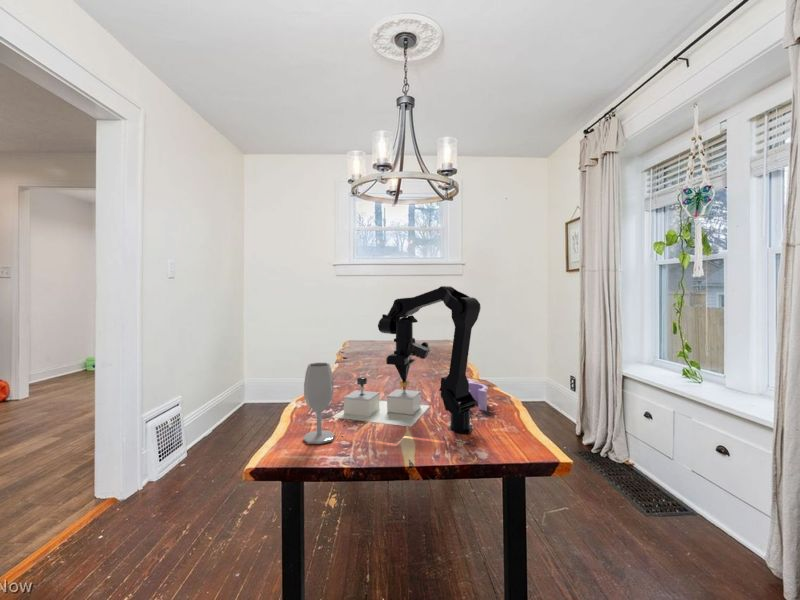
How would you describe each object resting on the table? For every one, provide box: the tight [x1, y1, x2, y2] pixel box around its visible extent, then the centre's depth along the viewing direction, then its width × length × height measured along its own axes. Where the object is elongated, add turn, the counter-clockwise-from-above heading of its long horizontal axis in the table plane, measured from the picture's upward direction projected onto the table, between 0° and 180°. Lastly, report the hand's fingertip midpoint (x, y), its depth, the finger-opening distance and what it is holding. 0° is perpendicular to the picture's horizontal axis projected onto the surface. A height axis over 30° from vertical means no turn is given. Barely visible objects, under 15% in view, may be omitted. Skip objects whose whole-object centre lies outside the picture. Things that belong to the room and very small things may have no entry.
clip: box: [458, 378, 488, 411], centre depth 141 cm, size 20×12×7 cm, turn 8°
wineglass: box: [303, 362, 336, 445], centre depth 107 cm, size 9×9×21 cm
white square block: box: [343, 389, 380, 417], centre depth 130 cm, size 10×9×6 cm
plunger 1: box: [356, 376, 368, 396], centre depth 129 cm, size 7×7×7 cm
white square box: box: [386, 388, 422, 416], centre depth 131 cm, size 10×9×6 cm
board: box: [332, 400, 430, 428], centre depth 130 cm, size 22×27×1 cm
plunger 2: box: [399, 379, 410, 394], centre depth 130 cm, size 7×7×7 cm
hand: (404, 381), depth 130 cm, fingers closed, pressing on plunger 2
